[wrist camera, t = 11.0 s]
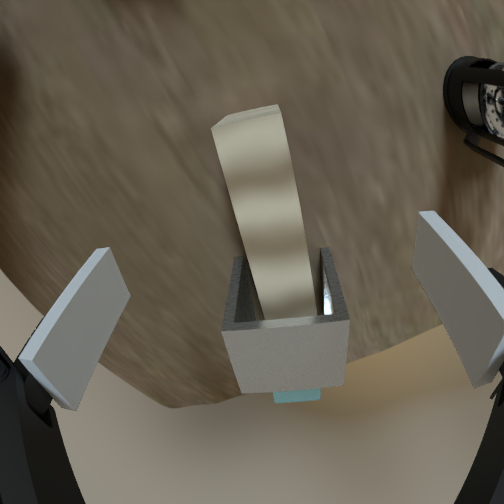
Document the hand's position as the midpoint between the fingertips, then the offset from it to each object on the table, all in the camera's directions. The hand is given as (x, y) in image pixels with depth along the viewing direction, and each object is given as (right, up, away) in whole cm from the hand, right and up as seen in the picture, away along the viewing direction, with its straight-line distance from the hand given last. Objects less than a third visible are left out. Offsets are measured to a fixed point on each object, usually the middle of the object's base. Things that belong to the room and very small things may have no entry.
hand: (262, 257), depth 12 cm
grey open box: (+4, -4, +26) cm, 26 cm away
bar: (+2, +5, +21) cm, 21 cm away
